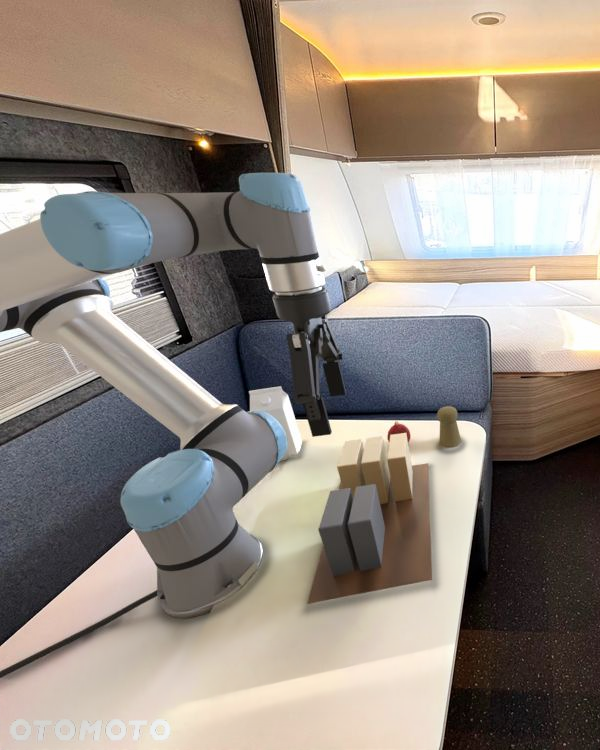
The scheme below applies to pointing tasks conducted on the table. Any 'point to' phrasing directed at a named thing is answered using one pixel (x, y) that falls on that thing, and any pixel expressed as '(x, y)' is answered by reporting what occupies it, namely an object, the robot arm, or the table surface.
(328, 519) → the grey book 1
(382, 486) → the cream book
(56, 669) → the table surface
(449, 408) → the olive pawn
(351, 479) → the cream book
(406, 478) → the cream book
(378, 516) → the grey rectangular block
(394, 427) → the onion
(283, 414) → the milk carton
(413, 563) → the shelf board
